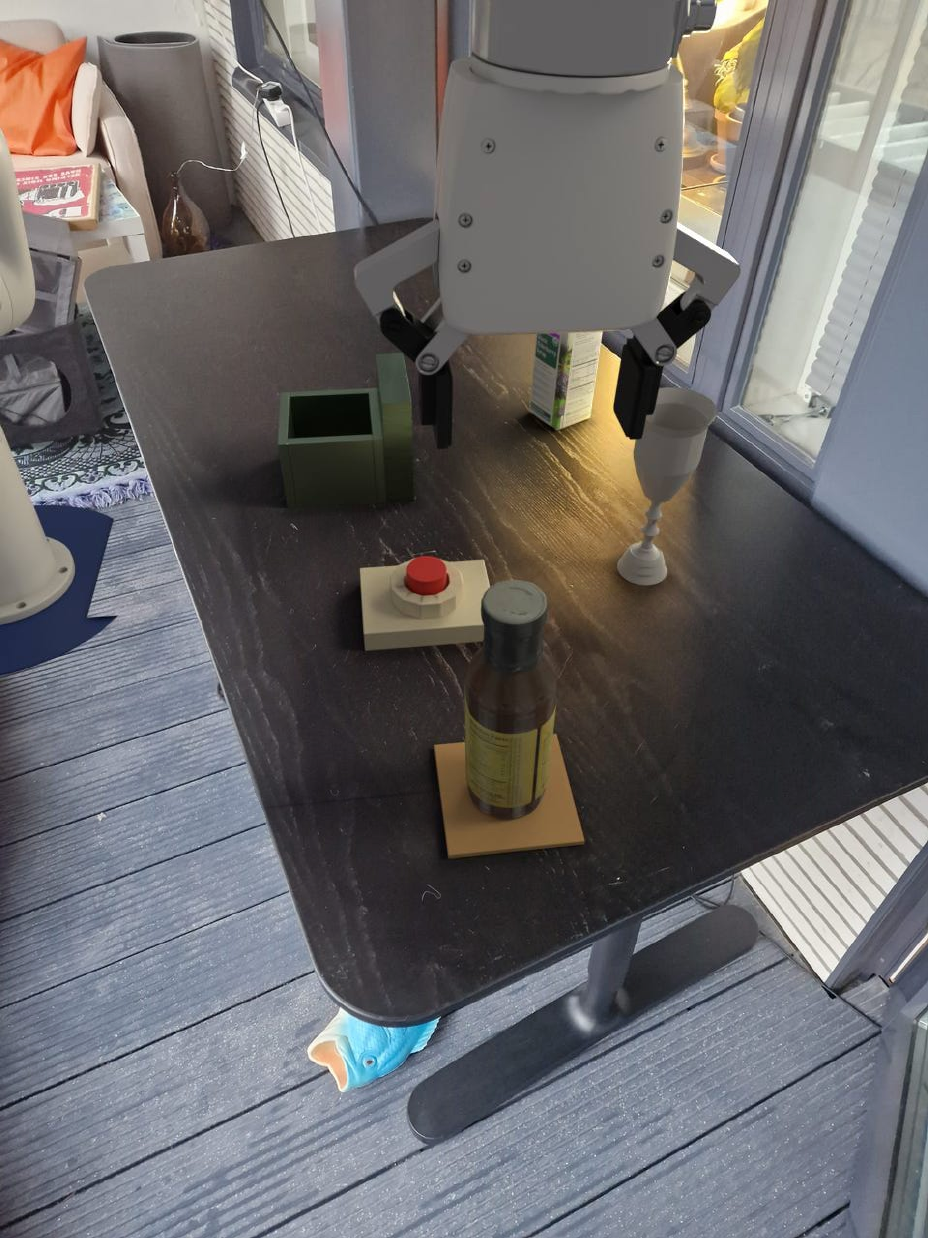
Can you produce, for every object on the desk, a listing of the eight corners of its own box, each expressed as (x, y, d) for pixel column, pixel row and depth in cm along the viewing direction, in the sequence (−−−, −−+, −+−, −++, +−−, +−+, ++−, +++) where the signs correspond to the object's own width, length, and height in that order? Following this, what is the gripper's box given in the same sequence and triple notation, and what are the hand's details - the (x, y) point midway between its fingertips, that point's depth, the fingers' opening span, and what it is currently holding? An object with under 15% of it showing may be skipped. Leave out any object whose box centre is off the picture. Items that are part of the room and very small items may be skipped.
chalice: (659, 601, 82) (699, 439, 69) (595, 576, 84) (622, 414, 72) (687, 560, 86) (729, 401, 74) (625, 537, 89) (656, 379, 76)
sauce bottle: (514, 744, 68) (532, 551, 54) (562, 799, 64) (595, 607, 51) (446, 779, 66) (447, 586, 52) (492, 839, 62) (506, 648, 48)
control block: (365, 651, 76) (362, 618, 73) (360, 584, 82) (358, 552, 80) (497, 640, 77) (499, 608, 75) (483, 576, 84) (484, 544, 81)
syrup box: (527, 411, 107) (536, 298, 97) (563, 398, 109) (575, 286, 99) (556, 432, 103) (568, 316, 93) (592, 418, 106) (608, 304, 96)
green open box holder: (287, 508, 91) (272, 408, 83) (289, 454, 99) (275, 357, 90) (413, 501, 93) (411, 402, 84) (406, 448, 100) (403, 352, 92)
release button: (408, 597, 76) (408, 583, 75) (405, 571, 78) (404, 557, 77) (448, 595, 76) (448, 580, 75) (444, 569, 79) (444, 554, 78)
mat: (448, 859, 61) (448, 855, 61) (434, 748, 68) (434, 744, 68) (583, 844, 62) (584, 841, 62) (555, 737, 69) (556, 733, 69)
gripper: (757, 9, 35) (675, 386, 47) (335, 6, 33) (361, 400, 45) (838, 48, 30) (722, 462, 42) (340, 46, 28) (368, 481, 40)
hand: (534, 429), depth 43 cm, fingers open, 9 cm apart
